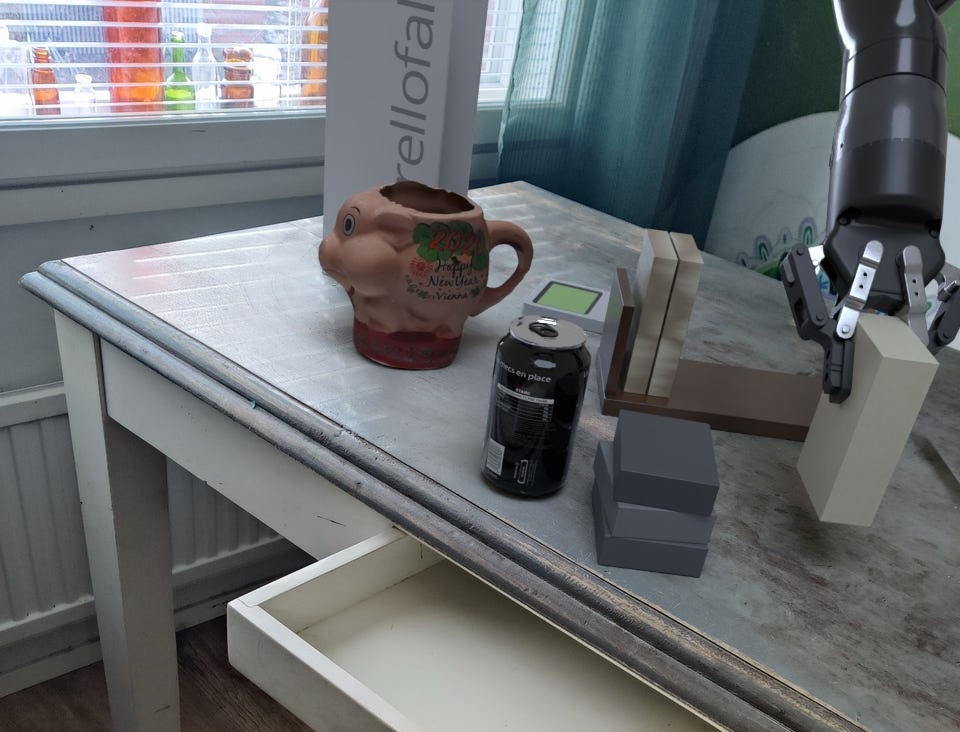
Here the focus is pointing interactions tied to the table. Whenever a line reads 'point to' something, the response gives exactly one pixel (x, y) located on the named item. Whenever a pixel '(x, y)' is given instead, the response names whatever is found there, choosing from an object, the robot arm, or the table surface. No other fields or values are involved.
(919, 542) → the table surface
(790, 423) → the book rack
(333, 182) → the white lettered box
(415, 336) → the pig-shaped ceramic mug
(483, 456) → the beverage can
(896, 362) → the tall beige pillar
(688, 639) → the table surface
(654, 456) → the stacked grey blocks
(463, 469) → the table surface
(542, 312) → the handheld gaming console
